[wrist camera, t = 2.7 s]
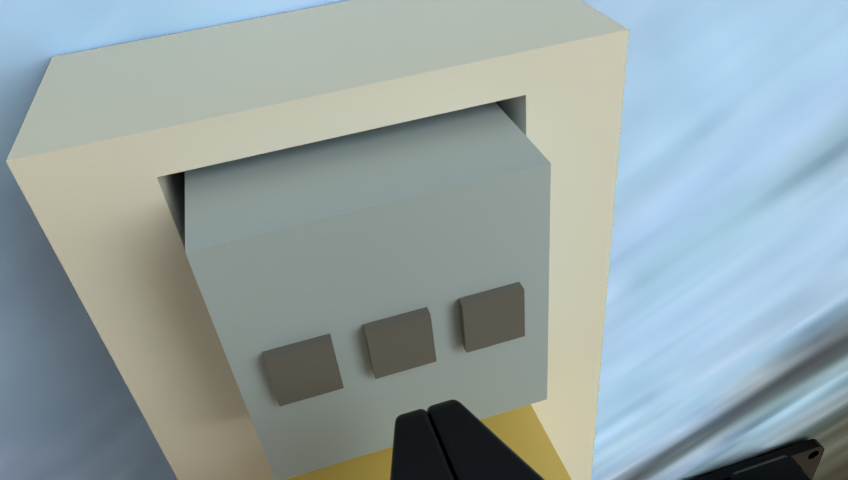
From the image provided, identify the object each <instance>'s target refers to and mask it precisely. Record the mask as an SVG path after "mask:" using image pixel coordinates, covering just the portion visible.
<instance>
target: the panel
mask: <svg viewBox="0 0 848 480" xmlns="http://www.w3.org/2000/svg"><path fill="white" fill-rule="evenodd" d="M628 36H629V29H627V28H626V27H624V26H622V25H621V24H619V23H617V22H616V21H614V20H612V19H611V18H609V17H607V16H606V15H604V14H602V13H601V12H599V11H597V10H596V9H594V8H592V7H591V6H589V5H588V4H586V3H584V2H583V1H581V0H349V1H344V2H339V3H333V4H328V5H323V6H318V7H312V8H307V9H302V10H297V11H291V12H286V13H281V14H275V15H270V16H265V17H260V18H254V19H249V20H244V21H238V22H233V23H228V24H223V25H217V26H212V27H207V28H201V29H196V30H191V31H186V32H180V33H175V34H170V35H165V36H159V37H154V38H149V39H143V40H138V41H133V42H128V43H122V44H117V45H112V46H106V47H101V48H96V49H91V50H85V51H80V52H75V53H69V54H64V55H59V56H54V57H52V59H51V61H50V63H49V66H48V68H47V70H46V72H45V75H44V77H43V79H42V81H41V84H40V86H39V88H38V90H37V93H36V95H35V97H34V99H33V102H32V104H31V106H30V108H29V111H28V113H27V115H26V117H25V120H24V122H23V124H22V126H21V128H20V131H19V133H18V135H17V137H16V140H15V142H14V144H13V146H12V149H11V151H10V153H9V155H8V158H7V160H6V163H7V165H8V166H9V168H10V170H11V172H12V174H13V176H14V177H15V179H16V181H17V183H18V185H19V187H20V189H21V190H22V192H23V194H24V196H25V198H26V200H27V201H28V203H29V205H30V207H31V209H32V211H33V213H34V214H35V216H36V218H37V220H38V222H39V224H40V226H41V227H42V229H43V231H44V233H45V235H46V237H47V238H48V240H49V242H50V244H51V246H52V248H53V250H54V251H55V253H56V255H57V257H58V259H59V261H60V263H61V264H62V266H63V268H64V270H65V272H66V274H67V275H68V277H69V279H70V281H71V283H72V285H73V287H74V288H75V290H76V292H77V294H78V296H79V298H80V299H81V301H82V303H83V305H84V307H85V309H86V311H87V312H88V314H89V316H90V318H91V320H92V322H93V324H94V325H95V327H96V329H97V331H98V333H99V335H100V336H101V338H102V340H103V342H104V344H105V346H106V348H107V349H108V351H109V353H110V355H111V357H112V359H113V361H114V362H115V364H116V366H117V368H118V370H119V372H120V373H121V375H122V377H123V379H124V381H125V383H126V385H127V386H128V388H129V390H130V392H131V394H132V396H133V397H134V399H135V401H136V403H137V405H138V407H139V409H140V410H141V412H142V414H143V416H144V418H145V420H146V422H147V423H148V425H149V427H150V429H151V431H152V433H153V434H154V436H155V438H156V440H157V442H158V444H159V446H160V447H161V449H162V451H163V453H164V455H165V457H166V459H167V460H168V462H169V464H170V466H171V468H172V470H173V471H174V473H175V475H176V477H177V479H178V480H275V479H274V476H273V474H272V471H271V469H270V466H269V464H268V461H267V459H266V456H265V454H264V451H263V449H262V446H261V443H260V441H259V438H258V436H257V433H256V431H255V428H254V426H253V423H252V421H251V418H250V416H249V413H248V411H247V408H246V405H245V403H244V400H243V398H242V395H241V393H240V390H239V388H238V385H237V383H236V380H235V378H234V375H233V372H232V370H231V367H230V365H229V362H228V360H227V357H226V355H225V352H224V350H223V347H222V345H221V342H220V340H219V337H218V334H217V332H216V329H215V327H214V324H213V322H212V319H211V317H210V314H209V312H208V309H207V307H206V304H205V301H204V299H203V296H202V294H201V291H200V289H199V286H198V284H197V281H196V279H195V276H194V274H193V271H192V268H191V266H190V263H189V261H188V258H187V256H186V253H185V171H187V170H192V169H196V168H201V167H205V166H210V165H214V164H219V163H223V162H228V161H232V160H237V159H241V158H246V157H250V156H254V155H259V154H263V153H268V152H272V151H277V150H281V149H286V148H290V147H295V146H299V145H304V144H308V143H313V142H317V141H322V140H326V139H331V138H335V137H340V136H344V135H349V134H353V133H357V132H362V131H366V130H371V129H375V128H380V127H384V126H389V125H393V124H398V123H402V122H407V121H411V120H416V119H420V118H425V117H429V116H434V115H438V114H443V113H447V112H451V111H456V110H460V109H465V108H469V107H474V106H478V105H483V104H487V103H492V102H496V104H497V105H498V106H499V107H500V108H501V109H502V110H503V111H504V112H505V113H506V115H507V116H508V117H509V118H510V119H511V120H512V121H513V122H514V123H515V124H516V125H517V127H518V128H519V129H520V130H521V131H522V132H523V133H524V134H525V135H526V136H527V137H528V139H529V140H530V141H531V142H532V143H533V144H534V145H535V146H536V147H537V148H538V149H539V151H540V152H541V153H542V154H543V155H544V156H545V157H546V158H547V159H548V160H549V162H550V163H551V187H550V250H549V312H548V375H547V399H546V400H543V401H540V402H537V403H533V404H531V406H532V407H533V409H534V411H535V413H536V415H537V417H538V418H539V420H540V422H541V424H542V426H543V428H544V430H545V431H546V433H547V435H548V437H549V439H550V441H551V443H552V444H553V446H554V448H555V450H556V452H557V454H558V456H559V457H560V459H561V461H562V463H563V465H564V467H565V468H566V470H567V472H568V474H569V476H570V478H571V480H591V474H592V462H593V451H594V439H595V427H596V415H597V403H598V391H599V379H600V368H601V356H602V344H603V332H604V320H605V308H606V296H607V285H608V273H609V261H610V249H611V237H612V225H613V213H614V202H615V190H616V178H617V166H618V154H619V142H620V131H621V119H622V107H623V95H624V83H625V71H626V59H627V48H628Z"/></svg>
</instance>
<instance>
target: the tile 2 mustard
mask: <svg viewBox="0 0 848 480" xmlns="http://www.w3.org/2000/svg"><path fill="white" fill-rule="evenodd" d="M480 421H481V422H482V423H483V424H484V425H486V426H487V427H488V428H489V429H490V430H491V431H492V432H493V433H494V434H495V435H497V436H498V437H499V438H500V439H501V440H502V441H503V442H504V443H505V444H506V445H507V446H509V447H510V448H511V449H512V450H513V451H514V452H515V453H516V454H517V455H518V456H520V457H521V458H522V459H523V460H524V461H525V462H526V463H527V464H528V465H529V466H530V467H532V468H533V469H534V470H535V471H536V472H537V473H538V474H539V475H540V476H541V477H543V478H544V479H545V480H571V478H570V476H569V474H568V472H567V470H566V468H565V467H564V465H563V463H562V461H561V459H560V457H559V456H558V454H557V452H556V450H555V448H554V446H553V444H552V443H551V441H550V439H549V437H548V435H547V433H546V431H545V430H544V428H543V426H542V424H541V422H540V420H539V418H538V417H537V415H536V413H535V411H534V409H533V407H532V406H531V404H530V405H527V406H523V407H520V408H517V409H514V410H510V411H507V412H504V413H501V414H497V415H494V416H491V417H488V418H484V419H481V420H480ZM392 451H393V447H389V448H386V449H383V450H380V451H376V452H373V453H370V454H367V455H363V456H360V457H357V458H353V459H350V460H347V461H344V462H340V463H337V464H334V465H331V466H327V467H324V468H321V469H318V470H314V471H311V472H308V473H304V474H301V475H298V476H295V477H291V478H288V479H285V480H390V474H391V462H392Z"/></svg>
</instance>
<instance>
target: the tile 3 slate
mask: <svg viewBox="0 0 848 480" xmlns="http://www.w3.org/2000/svg"><path fill="white" fill-rule="evenodd" d="M550 187H551V163H550V162H549V160H548V159H547V158H546V157H545V156H544V155H543V154H542V153H541V152H540V151H539V149H538V148H537V147H536V146H535V145H534V144H533V143H532V142H531V141H530V140H529V139H528V137H527V136H526V135H525V134H524V133H523V132H522V131H521V130H520V129H519V128H518V127H517V125H516V124H515V123H514V122H513V121H512V120H511V119H510V118H509V117H508V116H507V115H506V113H505V112H504V111H503V110H502V109H501V108H500V107H499V106H498V105H497V104H496V102H492V103H487V104H483V105H478V106H474V107H469V108H465V109H460V110H456V111H451V112H447V113H443V114H438V115H434V116H429V117H425V118H420V119H416V120H411V121H407V122H402V123H398V124H393V125H389V126H384V127H380V128H375V129H371V130H366V131H362V132H357V133H353V134H349V135H344V136H340V137H335V138H331V139H326V140H322V141H317V142H313V143H308V144H304V145H299V146H295V147H290V148H286V149H281V150H277V151H272V152H268V153H263V154H259V155H254V156H250V157H246V158H241V159H237V160H232V161H228V162H223V163H219V164H214V165H210V166H205V167H201V168H196V169H192V170H187V171H185V253H186V256H187V258H188V261H189V263H190V266H191V268H192V271H193V274H194V276H195V279H196V281H197V284H198V286H199V289H200V291H201V294H202V296H203V299H204V301H205V304H206V307H207V309H208V312H209V314H210V317H211V319H212V322H213V324H214V327H215V329H216V332H217V334H218V337H219V340H220V342H221V345H222V347H223V350H224V352H225V355H226V357H227V360H228V362H229V365H230V367H231V370H232V372H233V375H234V378H235V380H236V383H237V385H238V388H239V390H240V393H241V395H242V398H243V400H244V403H245V405H246V408H247V411H248V413H249V416H250V418H251V421H252V423H253V426H254V428H255V431H256V433H257V436H258V438H259V441H260V443H261V446H262V449H263V451H264V454H265V456H266V459H267V461H268V464H269V466H270V469H271V471H272V474H273V476H274V479H275V480H285V479H288V478H291V477H295V476H298V475H301V474H304V473H308V472H311V471H314V470H318V469H321V468H324V467H327V466H331V465H334V464H337V463H340V462H344V461H347V460H350V459H353V458H357V457H360V456H363V455H367V454H370V453H373V452H376V451H380V450H383V449H386V448H389V447H393V439H394V427H395V420H396V418H397V416H398V415H401V414H404V413H408V412H411V411H414V410H418V409H424V410H425V411H426V412H427V409H428V407H429V406H431V405H434V404H438V403H441V402H444V401H448V400H452V399H454V400H457V401H459V402H460V403H461V404H463V405H464V406H465V407H466V408H467V409H468V410H469V411H470V412H471V413H472V414H474V415H475V416H476V417H477V418H478V419H479V420H481V419H484V418H488V417H491V416H494V415H497V414H501V413H504V412H507V411H510V410H514V409H517V408H520V407H523V406H527V405H530V404H533V403H537V402H540V401H543V400H546V399H547V375H548V312H549V250H550Z"/></svg>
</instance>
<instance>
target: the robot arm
mask: <svg viewBox="0 0 848 480" xmlns="http://www.w3.org/2000/svg"><path fill="white" fill-rule="evenodd" d="M823 452H824V448H823V447H822V445H821V444H820V443H819V442H818V441H817V440H816V439H810V440H807V441H804V442H801V443H798V444H795V445H792V446H789V447H786V448H784V449H781V450H778V451H775V452H772V453H769V454H766V455H763V456H760V457H757V458H754V459H751V460H748V461H745V462H742V463H740V464H737V465H734V466H731V467H728V468H725V469H722V470H719V471H716V472H713V473H710V474H707V475H704V476H701V477H698V478H695V479H693V480H812V478H813V476H814V474H815V471H816V469H817V467H818V464H819V462H820V459H821V457H822V455H823ZM390 480H545V479H544V478H543V477H541V476H540V475H539V474H538V473H537V472H536V471H535V470H534V469H533V468H532V467H530V466H529V465H528V464H527V463H526V462H525V461H524V460H523V459H522V458H521V457H520V456H518V455H517V454H516V453H515V452H514V451H513V450H512V449H511V448H510V447H509V446H507V445H506V444H505V443H504V442H503V441H502V440H501V439H500V438H499V437H498V436H497V435H495V434H494V433H493V432H492V431H491V430H490V429H489V428H488V427H487V426H486V425H484V424H483V423H482V422H481V421H480V420H479V419H478V418H477V417H476V416H475V415H474V414H472V413H471V412H470V411H469V410H468V409H467V408H466V407H465V406H464V405H463V404H461V403H460V402H459V401H457V400H454V399H452V400H448V401H444V402H441V403H438V404H434V405H431V406H429V407H428V409H427V412H426V411H425V410H424V409H418V410H414V411H411V412H408V413H404V414H401V415H398V416H397V418H396V420H395V427H394V439H393V451H392V462H391V474H390Z"/></svg>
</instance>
